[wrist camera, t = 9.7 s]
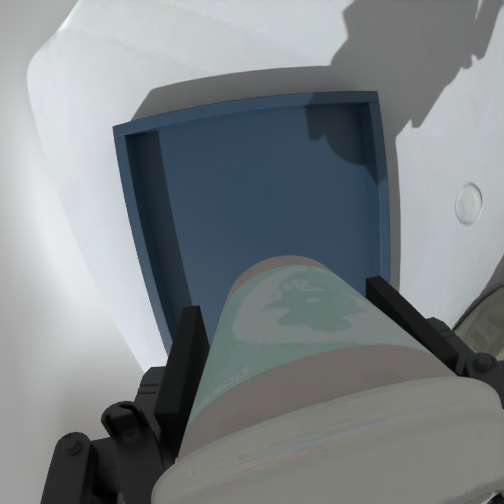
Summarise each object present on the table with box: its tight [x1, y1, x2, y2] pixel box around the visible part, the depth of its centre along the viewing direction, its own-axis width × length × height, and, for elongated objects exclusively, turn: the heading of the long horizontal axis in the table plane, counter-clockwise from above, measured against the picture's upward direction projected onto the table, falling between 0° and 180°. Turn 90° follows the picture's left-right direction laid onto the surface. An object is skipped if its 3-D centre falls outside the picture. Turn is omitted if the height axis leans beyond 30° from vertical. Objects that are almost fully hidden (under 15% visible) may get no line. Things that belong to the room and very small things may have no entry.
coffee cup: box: [151, 255, 504, 504], centre depth 9 cm, size 8×9×12 cm
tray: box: [113, 91, 390, 357], centre depth 22 cm, size 22×18×3 cm
